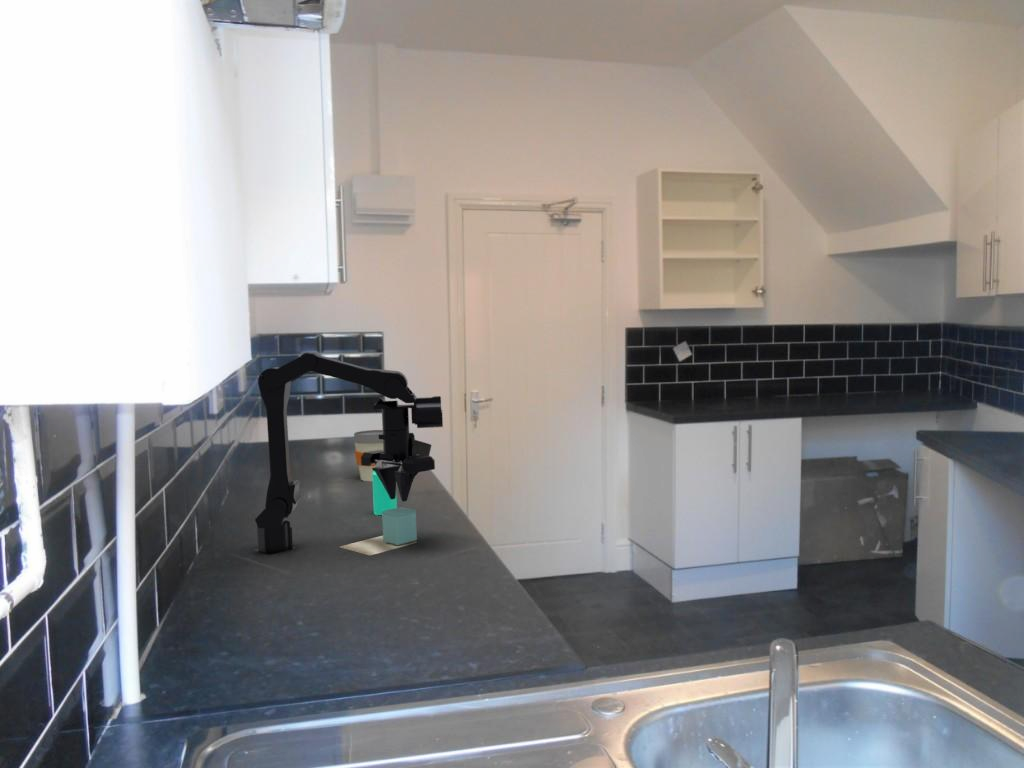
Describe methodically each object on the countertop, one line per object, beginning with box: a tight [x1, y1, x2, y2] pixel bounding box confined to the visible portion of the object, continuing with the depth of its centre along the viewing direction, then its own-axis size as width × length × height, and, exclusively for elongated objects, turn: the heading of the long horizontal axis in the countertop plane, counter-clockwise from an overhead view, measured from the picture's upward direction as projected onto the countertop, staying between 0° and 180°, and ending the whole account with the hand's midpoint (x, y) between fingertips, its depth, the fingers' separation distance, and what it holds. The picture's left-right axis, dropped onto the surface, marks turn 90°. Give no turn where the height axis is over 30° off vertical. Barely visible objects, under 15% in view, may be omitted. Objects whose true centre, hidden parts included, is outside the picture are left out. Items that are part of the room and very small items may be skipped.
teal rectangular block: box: [381, 506, 418, 545], centre depth 177 cm, size 5×5×7 cm
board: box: [339, 535, 418, 556], centre depth 176 cm, size 13×11×1 cm
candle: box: [371, 472, 398, 516], centre depth 209 cm, size 6×6×12 cm
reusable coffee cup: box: [353, 429, 383, 482], centre depth 259 cm, size 13×13×15 cm
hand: (398, 500), depth 177 cm, fingers open, 4 cm apart
